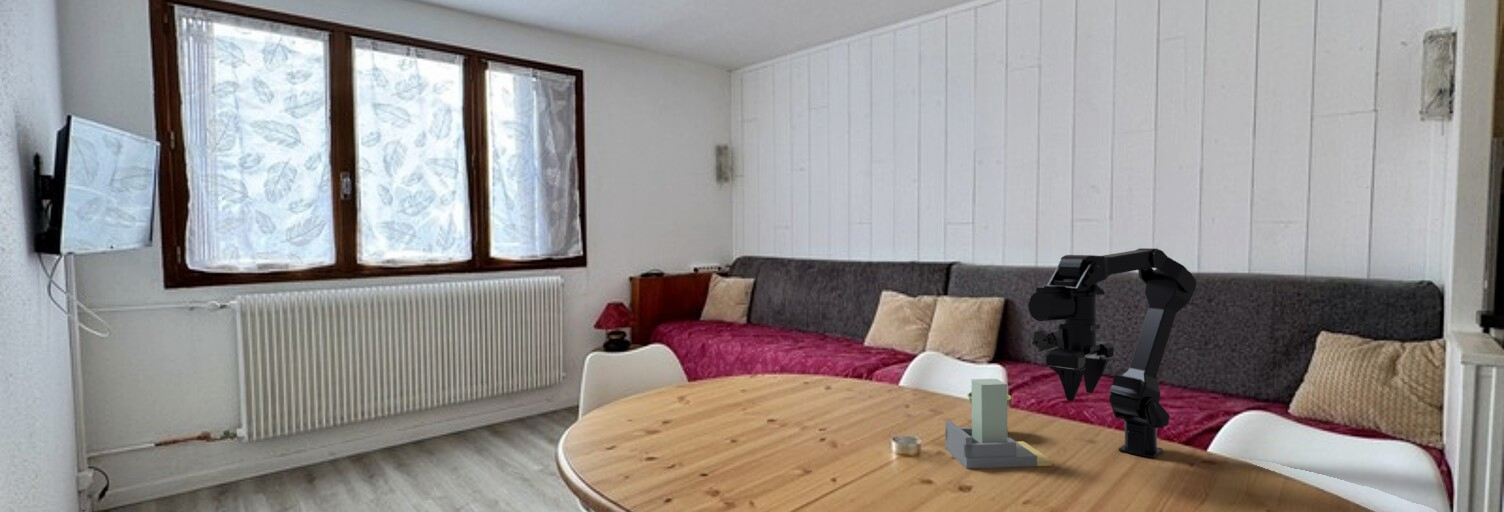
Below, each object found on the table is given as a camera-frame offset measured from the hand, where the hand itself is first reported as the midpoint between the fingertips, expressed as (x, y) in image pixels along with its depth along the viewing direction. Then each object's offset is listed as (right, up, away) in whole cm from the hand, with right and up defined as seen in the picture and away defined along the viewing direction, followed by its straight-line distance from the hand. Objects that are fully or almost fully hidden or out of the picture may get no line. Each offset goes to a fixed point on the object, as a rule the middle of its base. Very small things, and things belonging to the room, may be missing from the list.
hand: (1080, 396), depth 127 cm
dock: (-15, -13, +4) cm, 20 cm away
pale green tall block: (-16, -11, +4) cm, 20 cm away
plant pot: (-11, -13, +20) cm, 26 cm away
